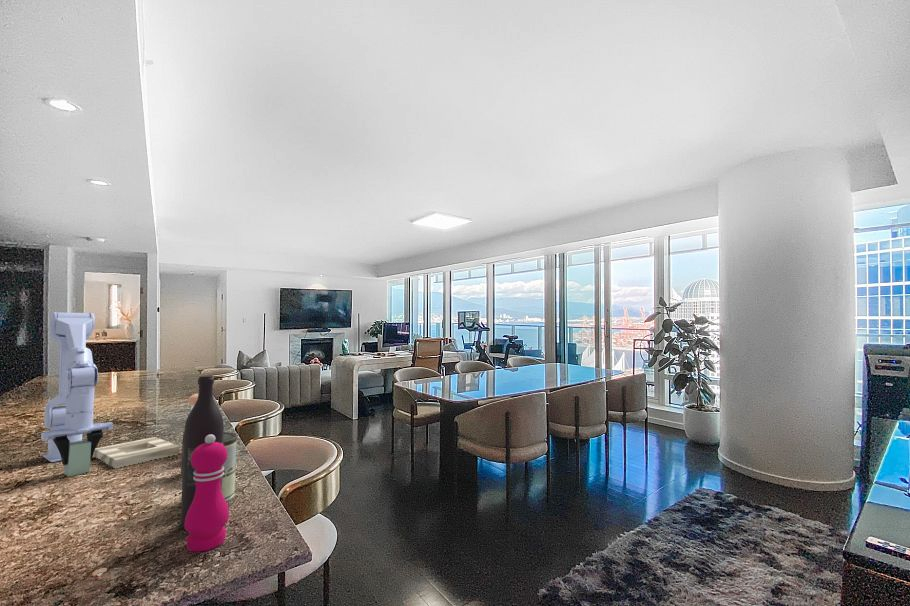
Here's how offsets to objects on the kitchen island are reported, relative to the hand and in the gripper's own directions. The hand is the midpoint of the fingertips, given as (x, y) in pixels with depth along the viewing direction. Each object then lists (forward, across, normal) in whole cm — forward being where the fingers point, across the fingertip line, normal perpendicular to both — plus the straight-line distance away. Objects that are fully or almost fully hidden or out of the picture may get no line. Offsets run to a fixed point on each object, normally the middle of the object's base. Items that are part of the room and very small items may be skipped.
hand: (77, 461), depth 113 cm
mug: (+3, +18, -27) cm, 33 cm away
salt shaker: (+3, +28, -7) cm, 29 cm away
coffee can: (+3, +13, -47) cm, 49 cm away
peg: (+3, 0, 0) cm, 3 cm away
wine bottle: (+3, +6, -58) cm, 58 cm away
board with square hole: (+3, +15, +4) cm, 16 cm away
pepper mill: (+3, +3, -67) cm, 67 cm away
